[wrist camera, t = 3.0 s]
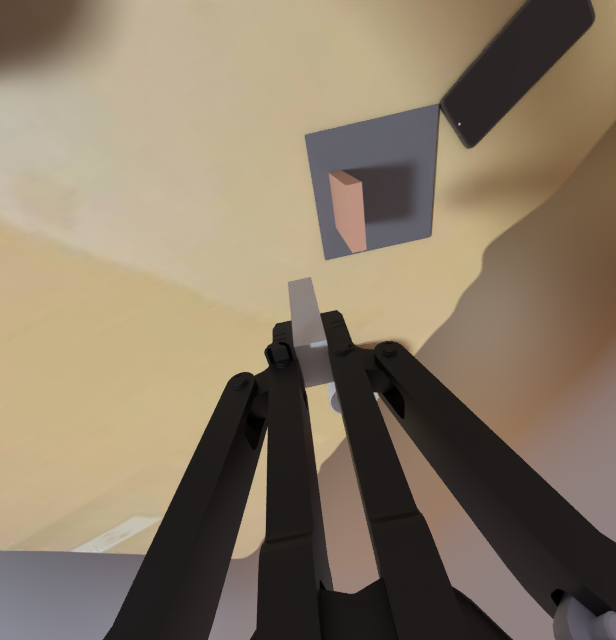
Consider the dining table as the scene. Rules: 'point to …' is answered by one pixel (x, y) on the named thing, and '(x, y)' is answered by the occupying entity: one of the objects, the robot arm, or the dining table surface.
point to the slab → (348, 209)
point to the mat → (378, 176)
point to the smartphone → (513, 64)
